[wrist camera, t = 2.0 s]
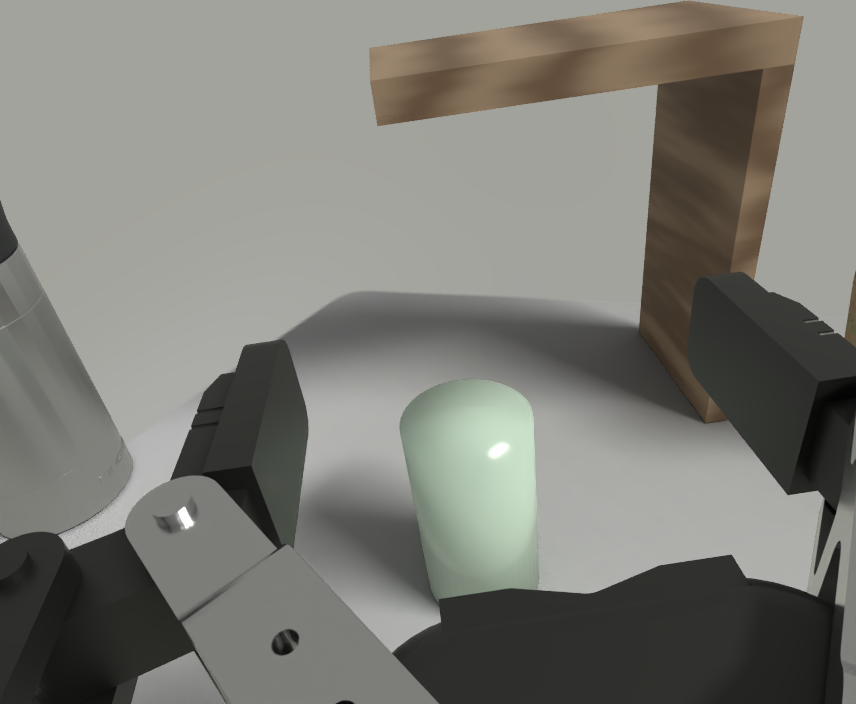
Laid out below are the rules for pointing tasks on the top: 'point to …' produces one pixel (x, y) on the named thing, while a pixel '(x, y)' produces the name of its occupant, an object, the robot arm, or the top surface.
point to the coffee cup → (852, 317)
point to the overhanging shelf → (673, 137)
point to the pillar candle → (473, 486)
